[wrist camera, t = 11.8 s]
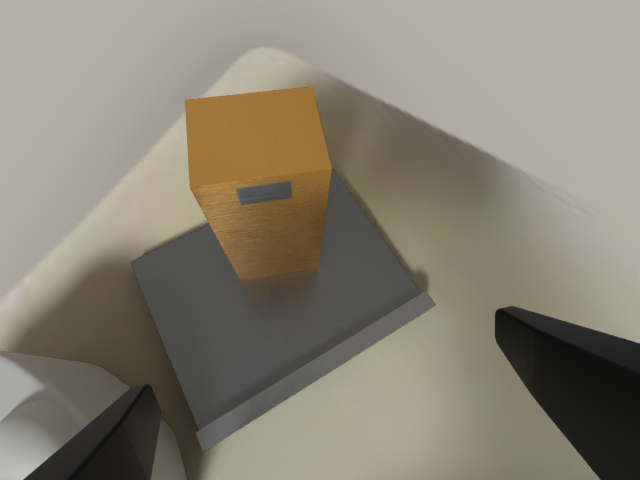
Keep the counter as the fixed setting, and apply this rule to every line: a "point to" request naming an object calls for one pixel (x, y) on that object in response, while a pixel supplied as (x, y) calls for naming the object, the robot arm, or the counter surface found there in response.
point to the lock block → (261, 177)
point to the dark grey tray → (272, 316)
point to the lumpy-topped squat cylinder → (61, 412)
